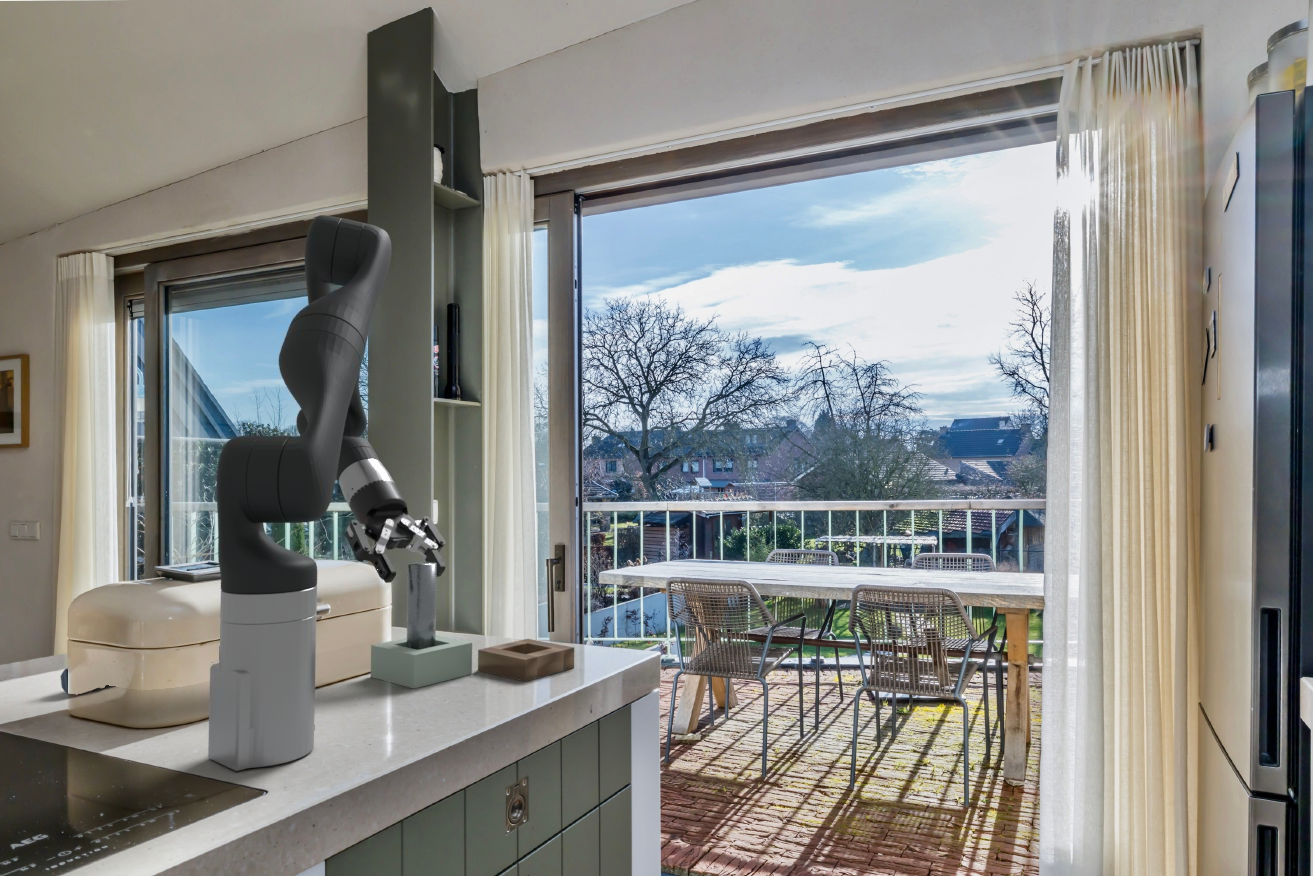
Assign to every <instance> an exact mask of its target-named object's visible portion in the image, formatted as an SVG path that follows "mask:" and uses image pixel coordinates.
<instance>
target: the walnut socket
mask: <svg viewBox="0 0 1313 876" xmlns="http://www.w3.org/2000/svg"><path fill="white" fill-rule="evenodd" d="M574 668H575V647H574V646H568V645H564V644H558V643H551V642H547V641H541V640H536V639H533V638H526V639H525V638H524V639H521V640H515V641H511V642H507V643H503V644H498V645H494V646H490V647H484V648H481V649H478V650H477V671H479V672H480V671H481V672H484V673H489V674H492V675H496V676H500V677H505V678H509V679H514V680H519V681H523V682H527V681H531V680H535V679H539V678H543V677H545V676H550V675H552V674H556V673H557V674H558V673H560V672H564V671H567V670H572V669H574Z"/></svg>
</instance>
